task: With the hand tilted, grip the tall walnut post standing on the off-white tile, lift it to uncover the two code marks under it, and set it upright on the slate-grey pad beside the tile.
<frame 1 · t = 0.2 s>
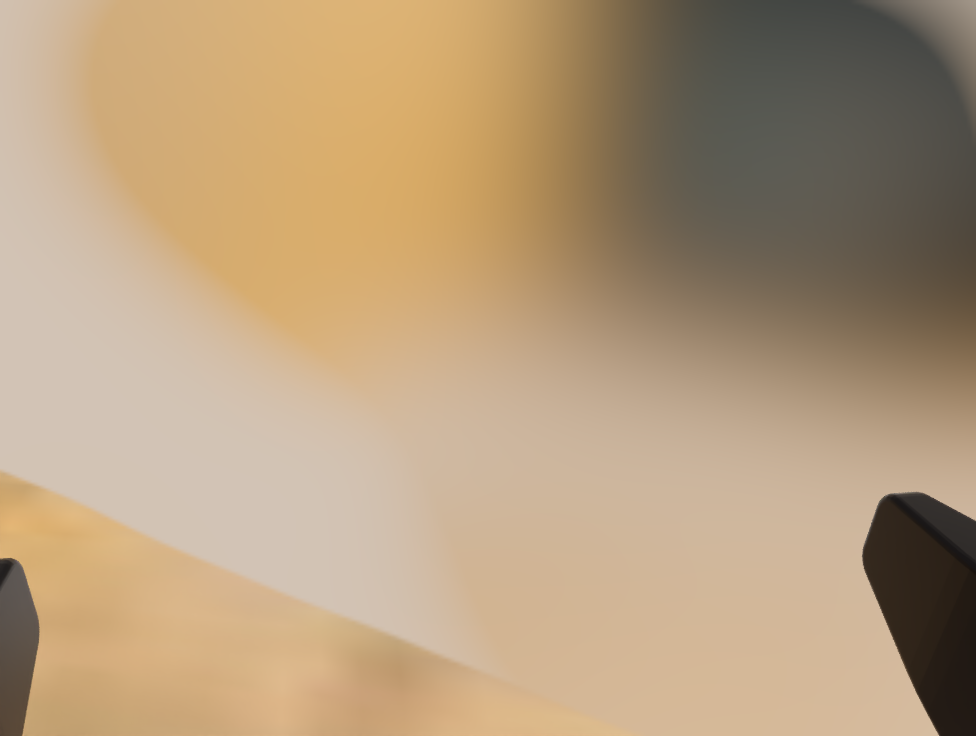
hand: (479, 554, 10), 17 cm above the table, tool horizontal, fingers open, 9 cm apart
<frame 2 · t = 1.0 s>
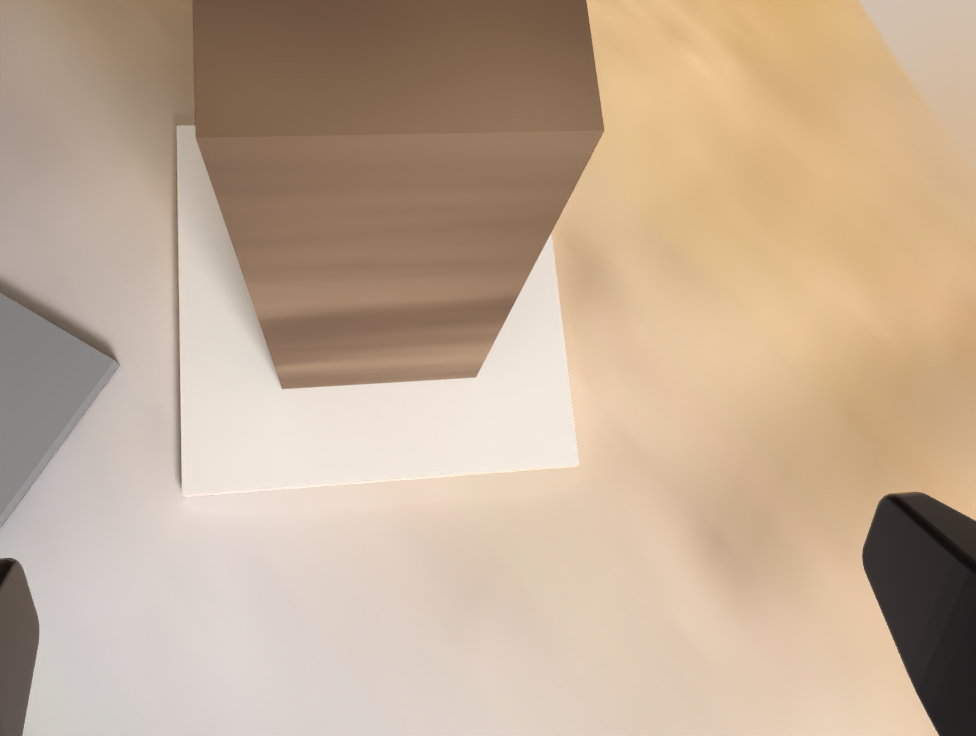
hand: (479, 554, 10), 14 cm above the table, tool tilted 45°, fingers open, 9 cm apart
code tile: (374, 297, 25), on the table
walnut post: (374, 291, 24), resting on code tile
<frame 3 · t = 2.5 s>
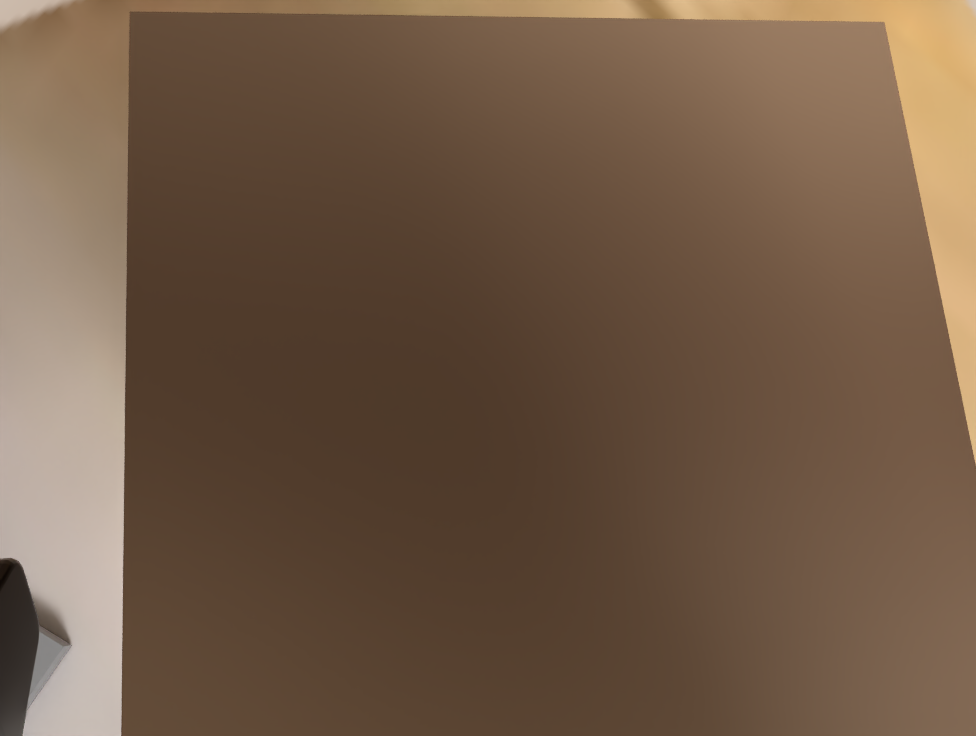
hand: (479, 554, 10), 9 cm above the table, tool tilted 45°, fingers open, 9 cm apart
walnut post: (421, 534, 18), resting on code tile
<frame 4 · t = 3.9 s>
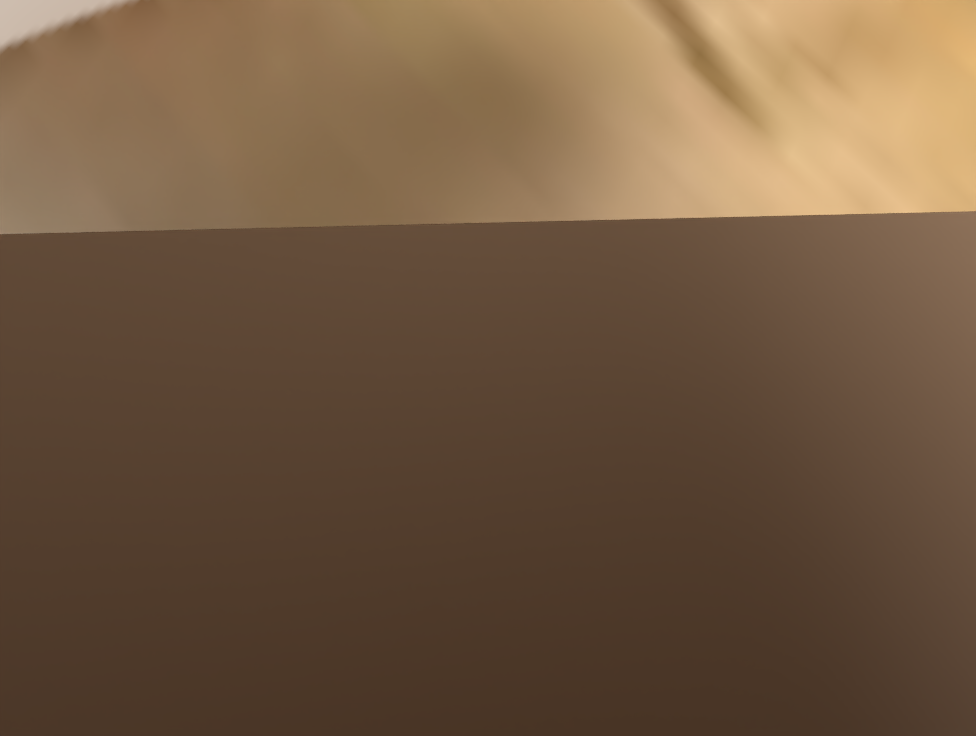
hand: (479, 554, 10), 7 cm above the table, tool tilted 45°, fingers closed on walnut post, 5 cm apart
walnut post: (436, 651, 16), resting on code tile, touching gripper
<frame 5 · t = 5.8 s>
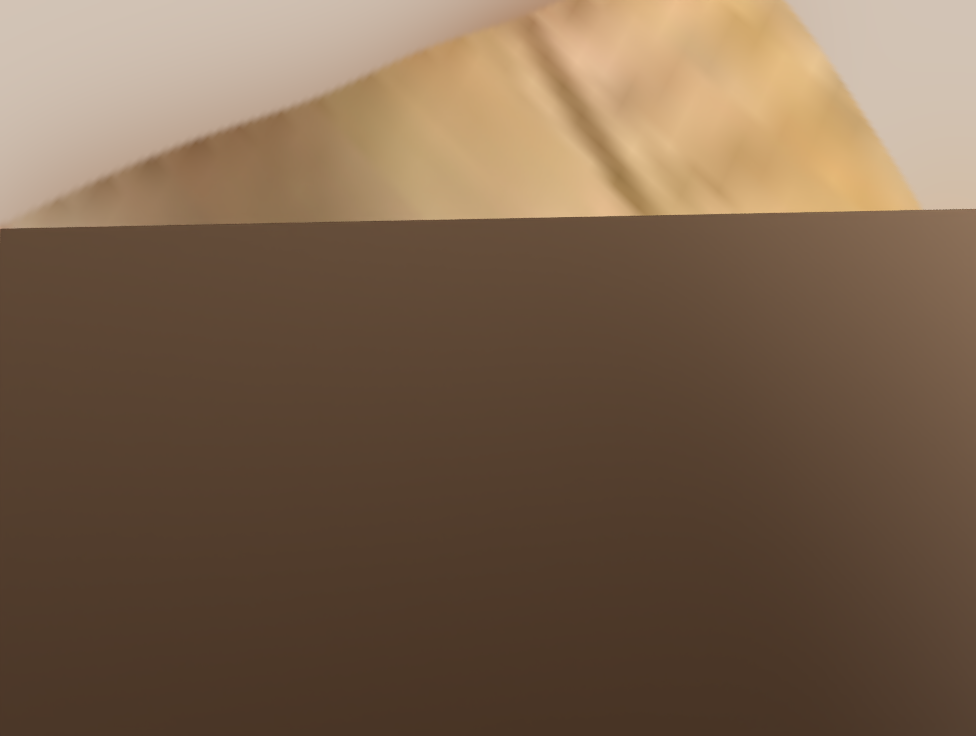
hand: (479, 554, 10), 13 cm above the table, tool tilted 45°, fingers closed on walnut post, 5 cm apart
walnut post: (436, 649, 16), point 7 cm above the table, touching gripper
when the fingers open (9 cm above the table, at t = 8.2 s): walnut post drops 1 cm, resting on grey pad.
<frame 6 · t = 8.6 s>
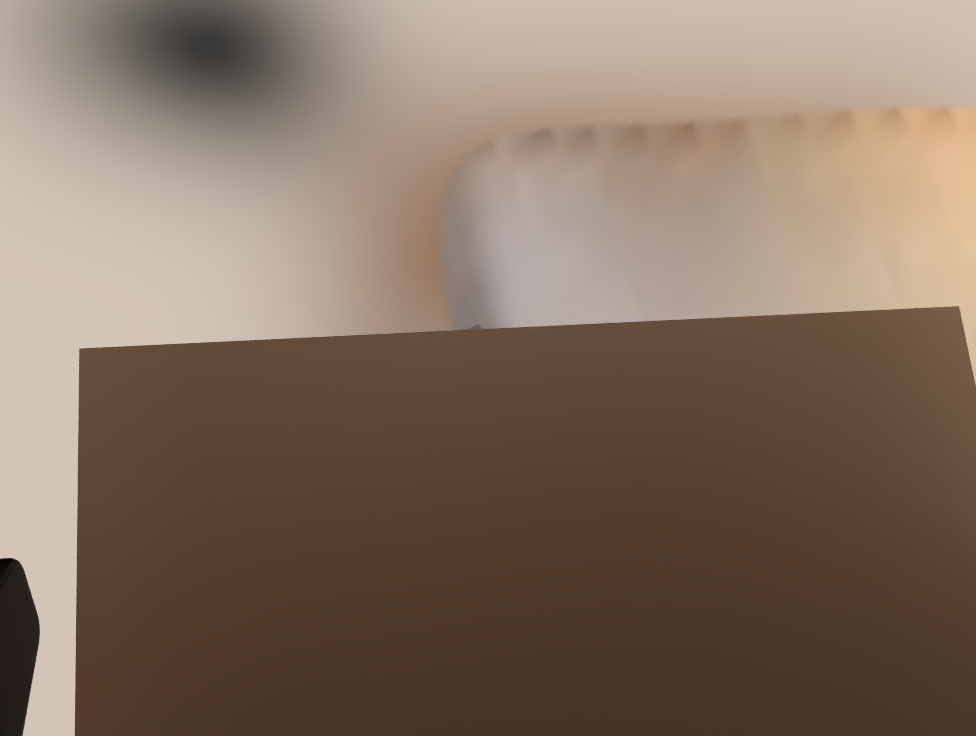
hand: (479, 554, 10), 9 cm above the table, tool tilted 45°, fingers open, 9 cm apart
walnut post: (423, 646, 17), point 1 cm above the table, touching grey pad
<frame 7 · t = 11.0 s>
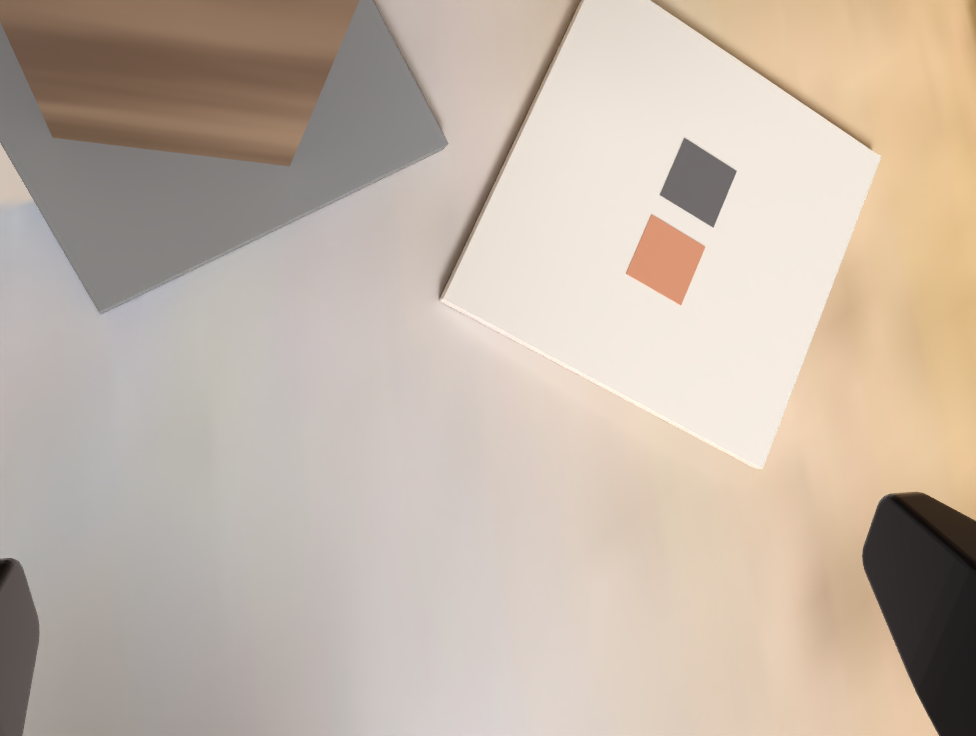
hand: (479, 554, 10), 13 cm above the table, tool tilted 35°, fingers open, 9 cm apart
code tile: (674, 224, 25), on the table
walnut post: (182, 43, 21), resting on grey pad
grey pad: (186, 52, 21), on the table
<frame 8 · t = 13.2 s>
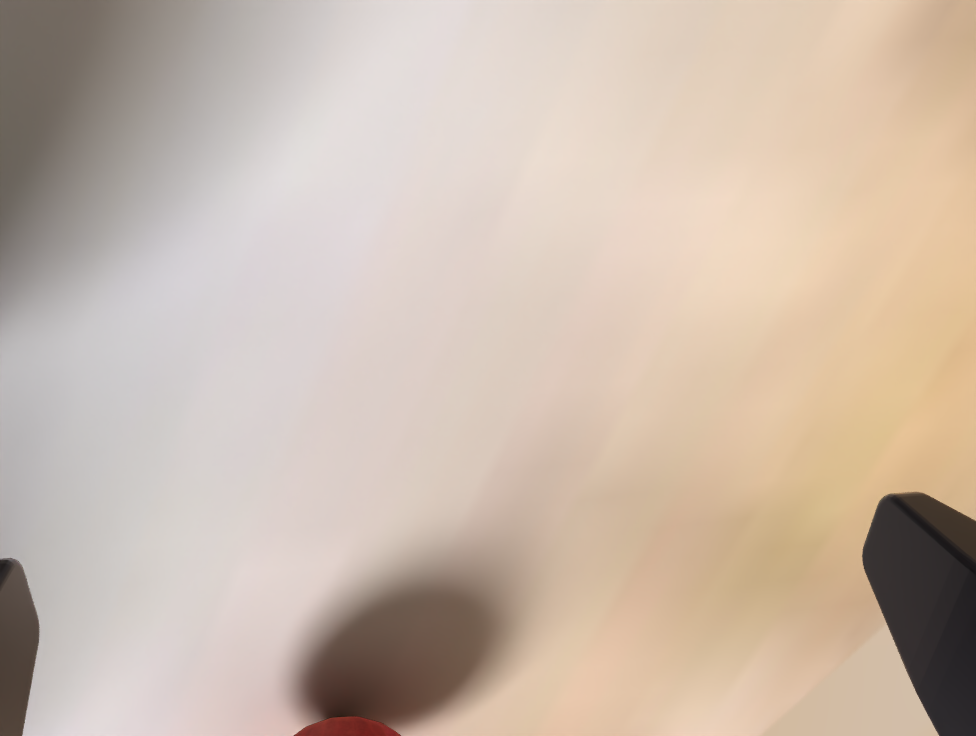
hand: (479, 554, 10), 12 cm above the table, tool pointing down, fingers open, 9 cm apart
onion: (339, 715, 29), on the table
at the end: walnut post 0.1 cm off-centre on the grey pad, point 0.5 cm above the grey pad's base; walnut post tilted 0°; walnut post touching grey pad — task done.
